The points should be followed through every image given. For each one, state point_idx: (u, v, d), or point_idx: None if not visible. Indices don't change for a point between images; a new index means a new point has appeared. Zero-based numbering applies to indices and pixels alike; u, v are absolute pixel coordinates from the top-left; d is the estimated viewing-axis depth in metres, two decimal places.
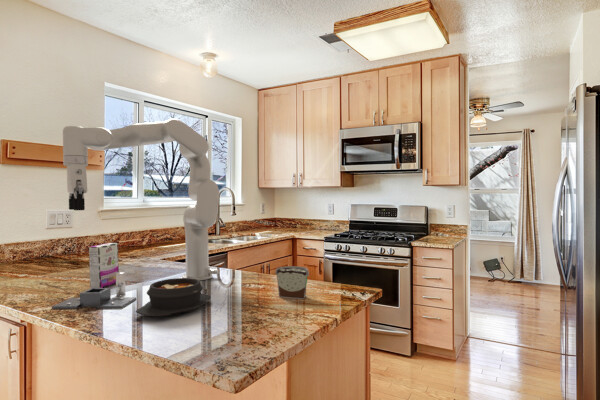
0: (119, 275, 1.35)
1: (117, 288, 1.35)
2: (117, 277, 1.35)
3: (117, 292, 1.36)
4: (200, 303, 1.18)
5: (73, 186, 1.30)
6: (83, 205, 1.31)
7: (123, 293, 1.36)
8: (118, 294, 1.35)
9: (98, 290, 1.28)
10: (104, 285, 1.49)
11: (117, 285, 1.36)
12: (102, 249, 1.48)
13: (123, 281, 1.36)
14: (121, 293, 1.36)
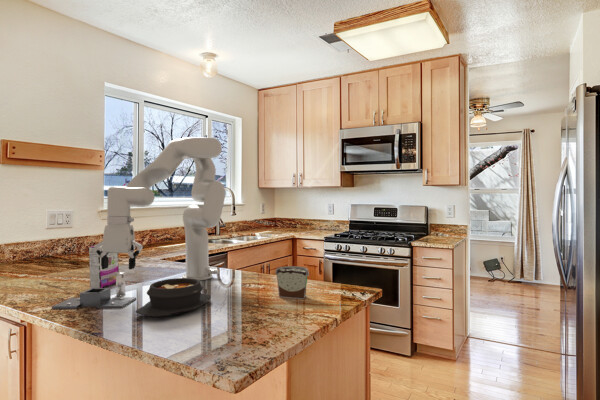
0: (119, 275, 1.35)
1: (117, 288, 1.35)
2: (117, 277, 1.35)
3: (117, 292, 1.36)
4: (200, 303, 1.18)
5: (130, 246, 1.35)
6: None
7: (123, 293, 1.36)
8: (118, 294, 1.35)
9: (98, 290, 1.28)
10: (104, 285, 1.49)
11: (117, 285, 1.36)
12: (102, 249, 1.48)
13: (123, 281, 1.36)
14: (121, 293, 1.36)
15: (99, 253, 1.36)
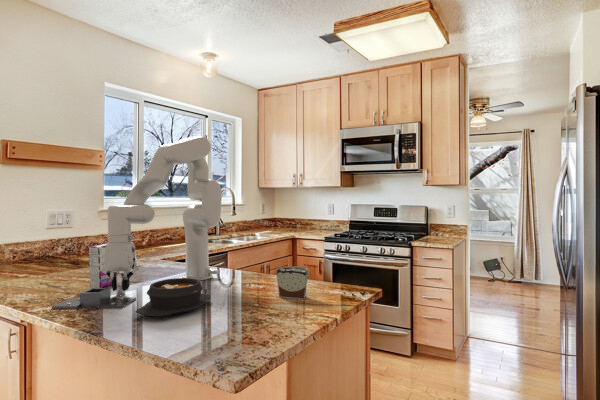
0: (119, 275, 1.35)
1: (117, 288, 1.35)
2: (117, 277, 1.35)
3: (117, 292, 1.36)
4: (200, 303, 1.18)
5: (131, 264, 1.35)
6: None
7: (123, 293, 1.36)
8: (118, 294, 1.35)
9: (98, 290, 1.28)
10: (104, 285, 1.49)
11: (117, 285, 1.36)
12: (102, 249, 1.48)
13: None
14: (121, 293, 1.36)
15: (109, 275, 1.36)
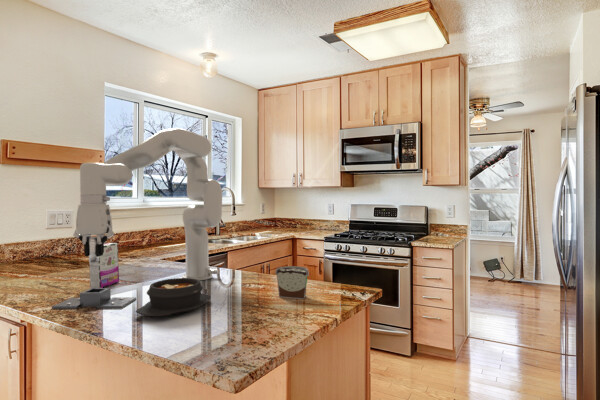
0: (92, 239, 1.24)
1: (90, 253, 1.24)
2: (90, 241, 1.24)
3: (90, 258, 1.24)
4: (200, 303, 1.18)
5: (105, 227, 1.24)
6: None
7: (96, 259, 1.25)
8: (91, 260, 1.24)
9: (98, 290, 1.28)
10: (104, 285, 1.49)
11: (90, 250, 1.24)
12: None
13: None
14: (94, 259, 1.24)
15: None
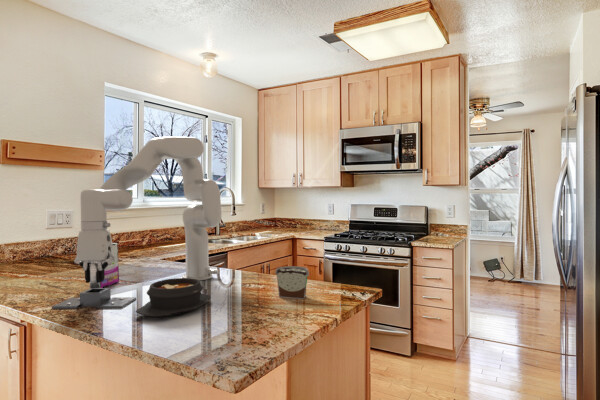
0: (93, 265, 1.24)
1: (91, 279, 1.24)
2: (91, 268, 1.24)
3: (90, 284, 1.24)
4: (200, 303, 1.18)
5: (106, 254, 1.24)
6: None
7: (97, 285, 1.25)
8: (92, 286, 1.24)
9: (98, 290, 1.28)
10: (104, 285, 1.49)
11: (91, 276, 1.24)
12: None
13: None
14: (95, 285, 1.25)
15: (82, 265, 1.25)
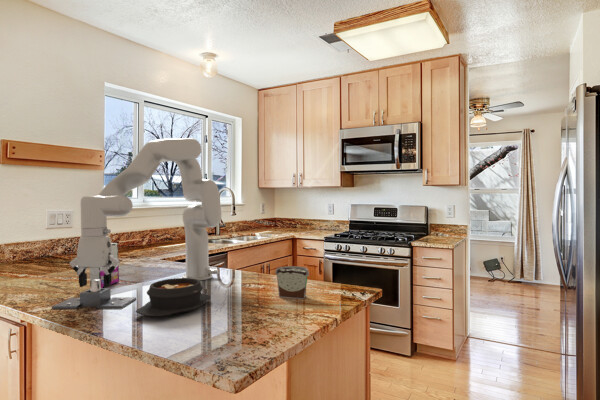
0: (94, 282, 1.24)
1: None
2: (91, 284, 1.25)
3: None
4: (200, 303, 1.18)
5: (106, 260, 1.24)
6: None
7: None
8: None
9: None
10: None
11: None
12: None
13: (98, 289, 1.25)
14: None
15: (76, 270, 1.25)
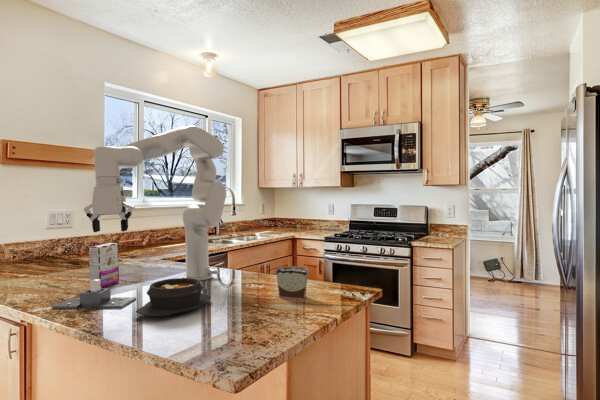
0: (94, 282, 1.24)
1: None
2: (91, 284, 1.25)
3: None
4: (200, 303, 1.18)
5: (121, 207, 1.30)
6: None
7: None
8: None
9: None
10: (104, 285, 1.49)
11: None
12: (102, 249, 1.48)
13: (98, 289, 1.25)
14: None
15: (89, 216, 1.31)
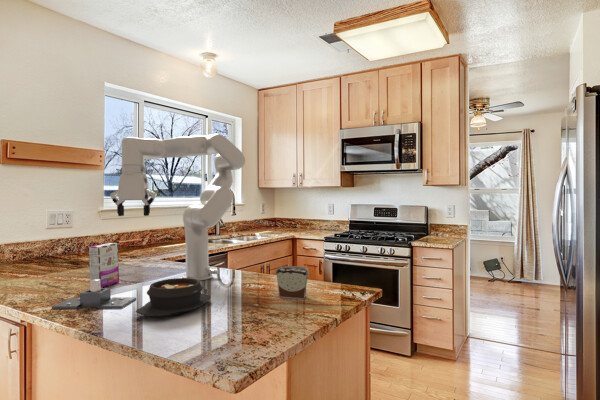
0: (93, 282, 1.24)
1: None
2: (91, 284, 1.25)
3: None
4: (200, 303, 1.18)
5: (144, 193, 1.42)
6: None
7: None
8: None
9: None
10: (104, 285, 1.49)
11: None
12: (102, 249, 1.48)
13: (98, 289, 1.25)
14: None
15: (115, 201, 1.43)
